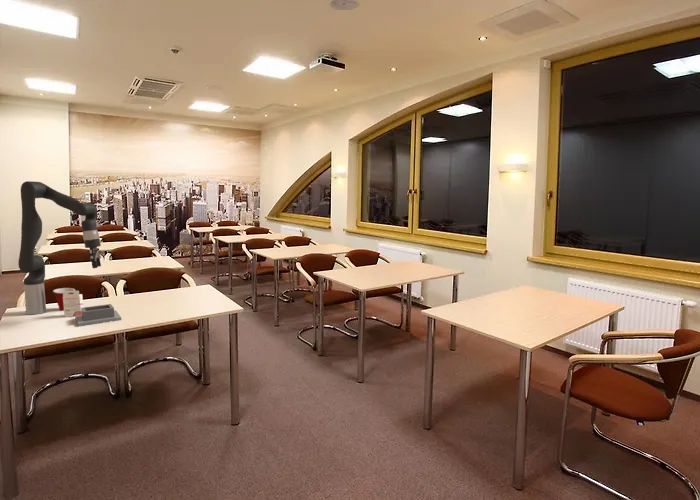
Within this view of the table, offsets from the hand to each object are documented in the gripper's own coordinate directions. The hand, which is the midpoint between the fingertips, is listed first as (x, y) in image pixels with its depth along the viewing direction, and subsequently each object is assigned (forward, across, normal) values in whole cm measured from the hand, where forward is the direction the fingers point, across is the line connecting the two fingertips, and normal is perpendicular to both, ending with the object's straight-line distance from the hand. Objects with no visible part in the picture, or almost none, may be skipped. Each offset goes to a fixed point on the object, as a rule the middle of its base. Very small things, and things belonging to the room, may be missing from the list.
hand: (97, 267), depth 234 cm
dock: (+28, +5, -3) cm, 29 cm away
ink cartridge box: (+26, -7, -17) cm, 32 cm away
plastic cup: (+24, -22, -25) cm, 41 cm away
